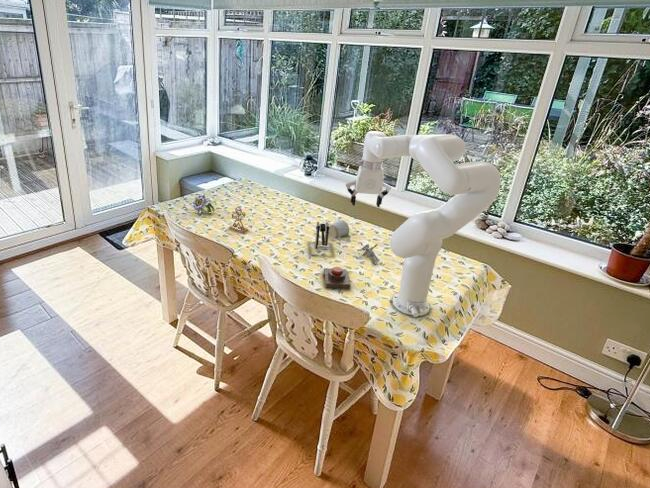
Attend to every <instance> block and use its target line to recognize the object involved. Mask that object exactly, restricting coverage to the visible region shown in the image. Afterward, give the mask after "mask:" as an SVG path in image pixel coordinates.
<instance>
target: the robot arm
mask: <svg viewBox="0 0 650 488" xmlns="http://www.w3.org/2000/svg"><path fill="white" fill-rule="evenodd" d="M466 147H467V146H466V143H465V141H464V140H463V138H461V137H460V136H458V135H455V134H446V133H445V134H443V133H442V134H402V135H391V136H387V135H386V133H385V132H383V131H378V130H370V131H367V133H366V134H365V138H364V143H363V151H362V156H361V157H362V158H361V159H360V160H357V164H358V165H359V167H358V169H357V172H356V176H355V179H354V180H352V181H349V182H347V183H345V187H346V189H347V192H348V193H349V194H350V196H351V197H350V203H351V205H352V206H353V207H354V206H356V198H357V196H356V195H357V194H363V195H364V194H365V195H366V194H367V195H377V196H376V197H377V198H376V203H375V204H376V207H377V208H380V207H381V206H380V205H382V202H383V199H384V197H385V196H387V195H388V194H389V192H391V190H392V187H391V186H390V185H389V184H387V183H386V182H384V179H385V178H384V174H385V172H384V170H385V169H384V168H383V163H384V162H383V160H384V159H391V158H397V157H411V159H413V160H414V161H417V162H418V163H419V165H420V166H421V167H422V169H423V170H424V171H425V173H426V174H427V175H428V176H429V178H430V179H431V180H432V181H433V183H435V185H436V186H437V188H438V189H439V190H440V191H441V192H443V193H444V194H447V195H449V196H452V197H451V198H450V199H448V201H446V202H445V203H444V204H443V205H441V206H439V207H437V208H434V209H430V210H429V209H428V210H425V211H420V212H417V213H414V214H413V215H411V216H410V217H409V218H407V219H406V220H405V221H404V222H403V223H402V224H401V225H400V226H398V228H396V229H395V230H394V231H393V233H392V234H391V236H390V238H389V248H390V251H391V252H392V254H394V255H395V256H396V257H398V258H400V259H401V258H402V259H404V260H403V266H402V271H401V277H400V282H399V287H398V293H396V294H394V296H393V297H392V305H393V306H394V307H395V309H396V310H398V311H399V312H401V313H403V314H405V315H409V316H413V318H417V317H421V316H425V315H427V314H428V313H429V312H430V307H431V305H430V304H429V302H428V301H427V300H428V295H429V290H430V285H431V282H432V276H433V272H434V268H435V264H436V260H437V257H438V255H439V252H440V251H441V249H442V245H443V241H444V239H445V240H446V239H447V238H450V237H452V236H453V235H454V234H456V233H457V232H459V231H460V230H461V229H463V228H464V227H465V226H467V224H469V223H470V222H471V221H472V220H474V219H475V218H477V217H478V216H480V214H482V213H484V212H485V211H486V210H487V209H488V208H489V207H490V206H491V205H492V204H493V203H494V202H495V200H496V199H497V197H498V195H499V193H500V189H501V182H502V180H501V179H502V178H501V174H500V171H499V169H498V168H497V167H496V166H495V165H494V164H492V163H490V162H488V161H483V160H482V161H480V160H479V161H477V160H476V161H468V162H462V163H461V162H460V163H454V162H456V161H458V160H460V159H462V157H463V156H464V155H465V153H466V149H467V148H466ZM352 186H354V188H353V189H352V188H351V187H352ZM384 188H385V189H384ZM383 189H384V190H383Z"/></svg>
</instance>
